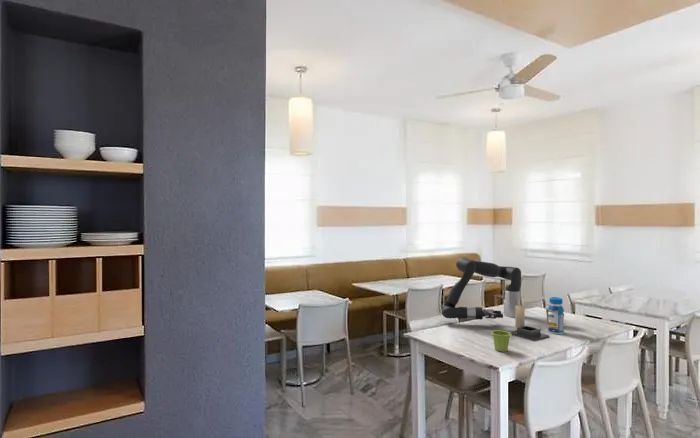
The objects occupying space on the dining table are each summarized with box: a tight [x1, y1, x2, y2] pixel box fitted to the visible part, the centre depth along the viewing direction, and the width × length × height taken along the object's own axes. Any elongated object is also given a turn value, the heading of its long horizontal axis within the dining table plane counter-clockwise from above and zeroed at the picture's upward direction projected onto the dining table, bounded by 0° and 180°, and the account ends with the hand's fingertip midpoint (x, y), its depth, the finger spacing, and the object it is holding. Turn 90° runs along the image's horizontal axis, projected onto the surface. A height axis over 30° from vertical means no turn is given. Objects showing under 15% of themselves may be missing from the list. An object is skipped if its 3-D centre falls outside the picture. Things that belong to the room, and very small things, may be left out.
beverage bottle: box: [547, 296, 565, 335], centre depth 235 cm, size 8×8×20 cm
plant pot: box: [491, 329, 512, 353], centre depth 205 cm, size 9×9×9 cm
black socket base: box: [509, 325, 550, 342], centre depth 229 cm, size 16×14×4 cm
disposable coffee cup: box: [544, 304, 551, 322], centre depth 250 cm, size 10×10×12 cm
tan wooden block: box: [514, 304, 526, 329], centre depth 246 cm, size 5×5×13 cm
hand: (501, 314), depth 248 cm, fingers open, 8 cm apart
